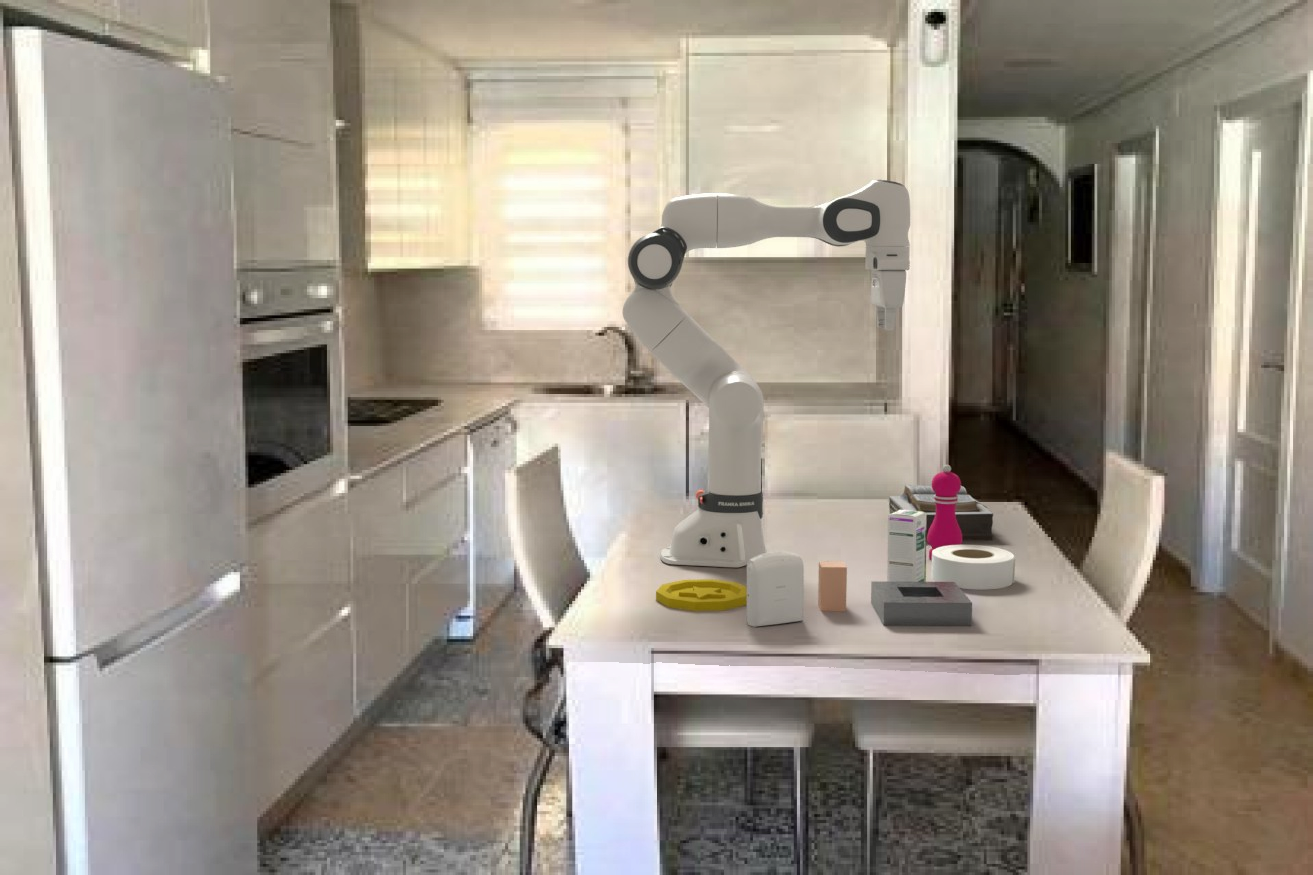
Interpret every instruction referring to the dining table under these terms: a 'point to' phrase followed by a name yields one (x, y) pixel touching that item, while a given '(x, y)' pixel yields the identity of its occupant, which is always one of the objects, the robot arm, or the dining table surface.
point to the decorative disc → (702, 595)
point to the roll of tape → (973, 566)
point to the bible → (967, 511)
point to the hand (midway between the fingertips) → (885, 329)
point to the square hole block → (921, 603)
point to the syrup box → (907, 546)
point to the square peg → (832, 586)
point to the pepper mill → (945, 511)
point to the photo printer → (775, 588)
